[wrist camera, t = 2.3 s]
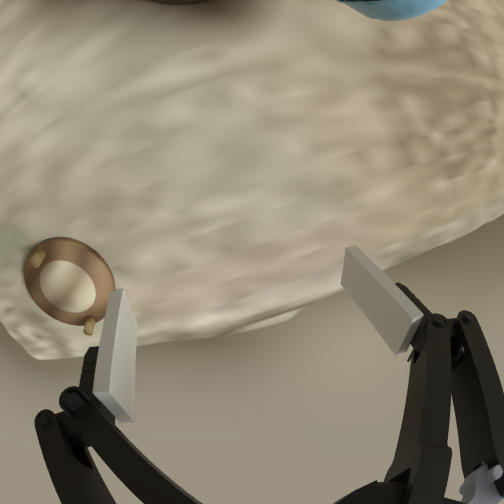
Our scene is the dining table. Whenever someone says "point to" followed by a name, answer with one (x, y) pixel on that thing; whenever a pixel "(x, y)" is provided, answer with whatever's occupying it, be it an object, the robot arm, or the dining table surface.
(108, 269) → the plate
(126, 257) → the dining table surface
